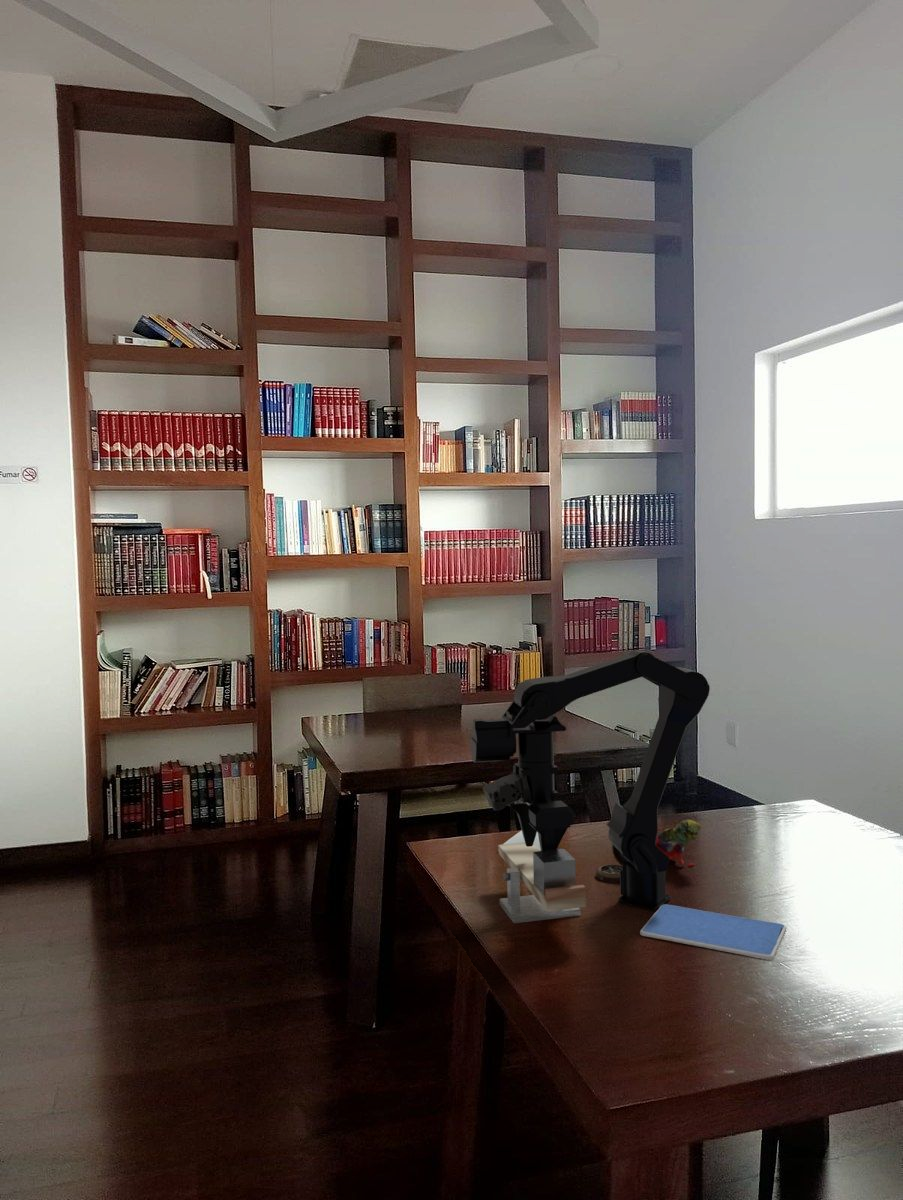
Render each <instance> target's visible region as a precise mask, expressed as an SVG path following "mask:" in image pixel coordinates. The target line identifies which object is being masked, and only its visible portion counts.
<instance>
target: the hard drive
mask: <svg viewBox="0 0 903 1200" xmlns="http://www.w3.org/2000/svg"><path fill="white" fill-rule="evenodd" d="M522 842H525V841H524V837H523V833H522V830H521V829H520V831H518V832H517V833H516V834H514V835H512V837H511V838H508V839H507V841H505V842H504V843H502V844H501V845H503V844H512V843H522ZM533 844H534V845H535V846H536V847H537V848H538V849H539V850H540V851H541V849H540V843H539V837H538V832H537V833H536V837H535V840H534V843H533Z"/></svg>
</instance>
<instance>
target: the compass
mask: <svg viewBox="0 0 903 1200" xmlns="http://www.w3.org/2000/svg"><path fill="white" fill-rule="evenodd" d="M611 844H612V843H611ZM611 849H612V854H613V857H614V859H615V860H616V862H617V863H618V864H605V865H602V866H600V867H599V868H598V869H596V870H595V876H596V878H598V880H600V881H603V882H608V883H609V882H610V883H620V871H621V870H622V863H623V862H624V861H626V859H625V858H624V857H622V855H621V853H620V851H619V850H618V849H617V848H616V847H615V846H614V845H613V844H612V845H611Z"/></svg>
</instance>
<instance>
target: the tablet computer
mask: <svg viewBox="0 0 903 1200" xmlns="http://www.w3.org/2000/svg"><path fill="white" fill-rule="evenodd" d="M786 929H787V926H786V925H785V924H782V923H777V922H772V921H766V920H761V919H753V918H747V917H744V916H743V917H741V916H736V915H730V914H726V913H725V914H724V913H717V912H713V911H707V910H706V911H705V910H701V909H696V908H692V907H691V908H690V907H685V906H679V905H673V904H665V903H664V904H662V905H661V906H659V907H658V908H657V910H656V911H655V912H654V913H653V914H652V916H651V917H650V919H649V920H648V921H647V922H646V923H645V924H644V925H643V927H642V928H641V929H640V931H639V934H640V936H643V937H646V938H653V939H658V940H664V941H667V942H674V943H677V944H679V943H680V944H685V945H689V946H694V947H700V948H705V949H710V950H715V951H721V952H726V953H731V954H735V955H741V956H745V957H750V958H755V959H759V958H761V959H760V960H764V959H766V961H773V960H774V959H775V958H776V954H777V953H778V951H777V950H779V948H780V946H781V944H782V942H783V940H784V937H785V935H786V933H787V931H786ZM787 930H788V929H787ZM785 932H786V933H785ZM784 934H785V935H784ZM783 936H784V937H783ZM782 939H783V940H782ZM781 941H782V942H781ZM780 943H781V944H780ZM779 945H780V946H779ZM778 947H779V948H778ZM774 957H775V958H774ZM773 958H774V959H773ZM772 959H773V960H772Z"/></svg>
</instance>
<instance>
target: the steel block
mask: <svg viewBox="0 0 903 1200" xmlns="http://www.w3.org/2000/svg"><path fill="white" fill-rule="evenodd" d="M533 871H534V884H535V886H536V887H537V888H538V889H539V890H540V891H541V893H542V894H543V895H544V896H545V889H550V888H558V887H567V886H576V884H577V883H576V881H577V880H576V878H577V877H576V872H577V871H576V859H575V858H574V857H573V855H571V854H570V853H569V852H568V851H567V850H566V849H565V848H557V849H556V850H546V851H537V852H533Z"/></svg>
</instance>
